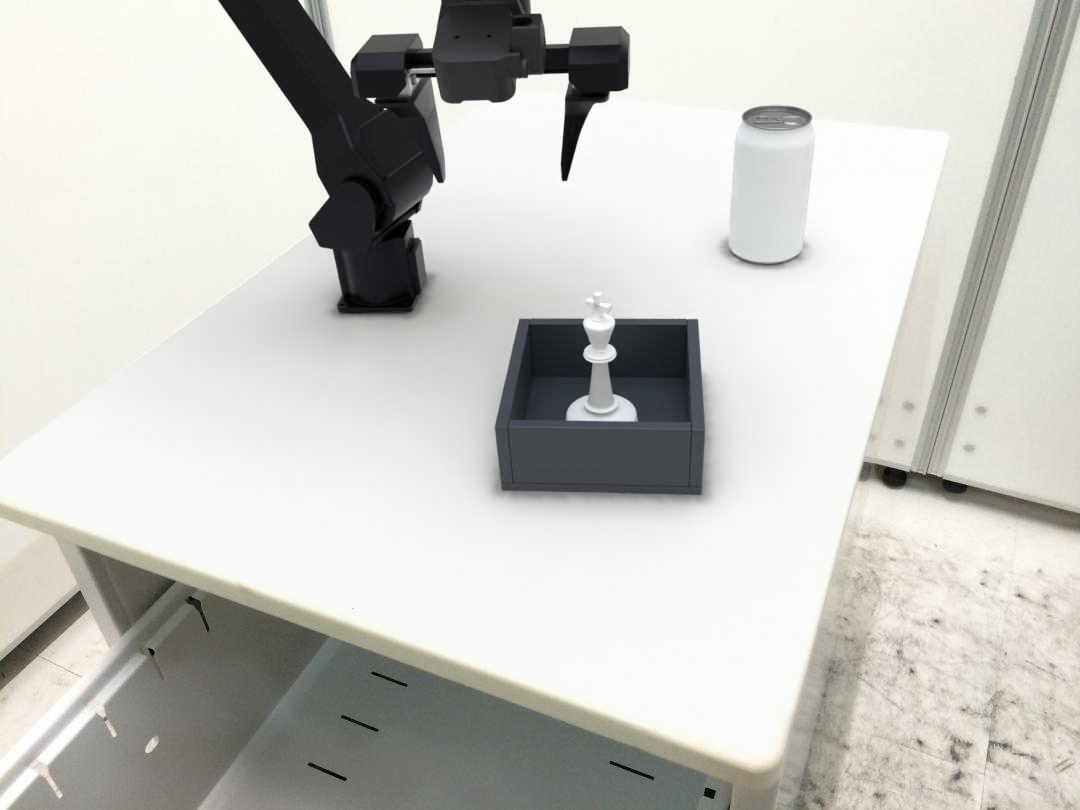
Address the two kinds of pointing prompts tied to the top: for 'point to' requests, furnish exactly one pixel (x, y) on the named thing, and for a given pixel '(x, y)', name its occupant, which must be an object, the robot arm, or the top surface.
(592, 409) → the chess piece
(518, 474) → the dark grey storage bin
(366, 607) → the top surface
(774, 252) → the can
